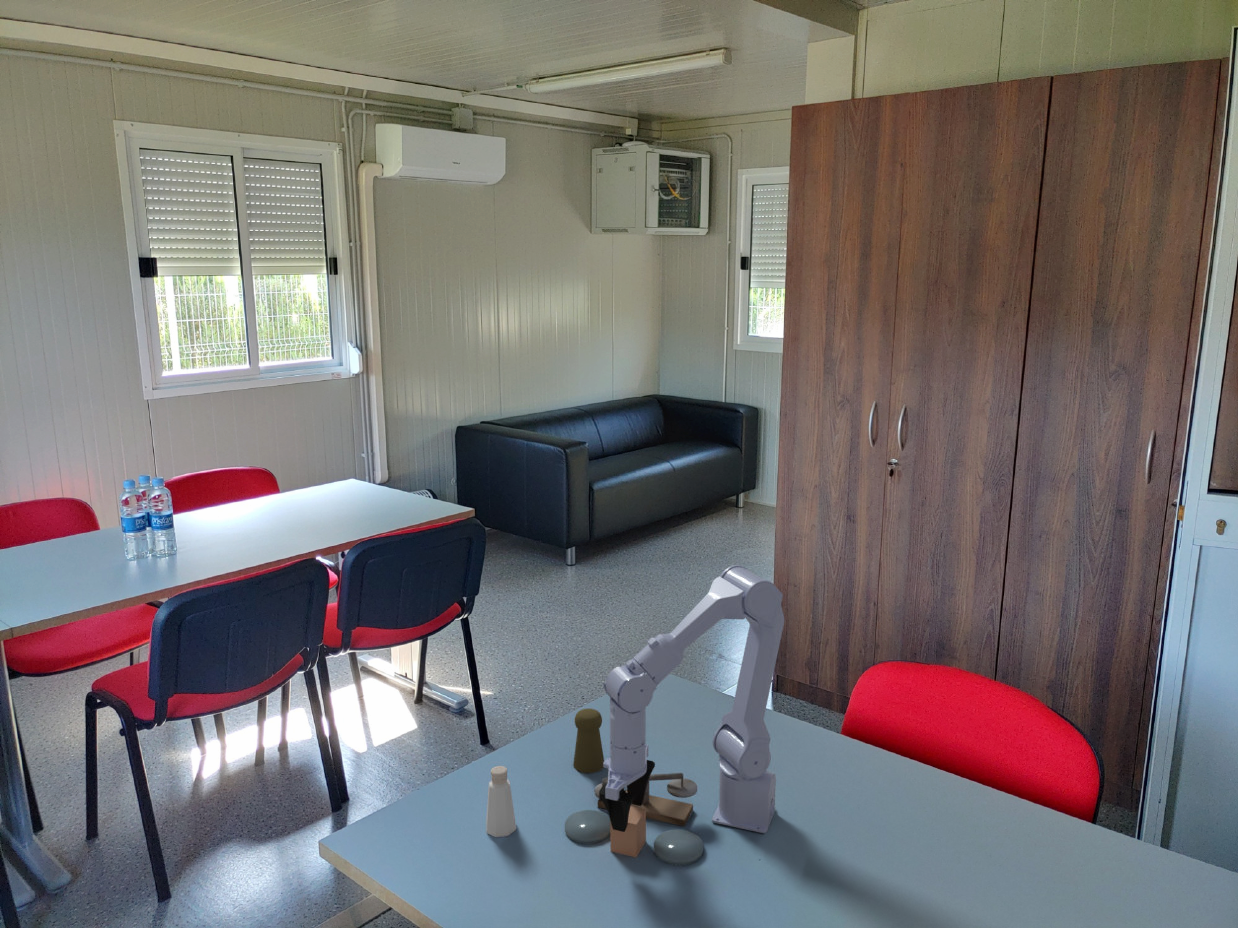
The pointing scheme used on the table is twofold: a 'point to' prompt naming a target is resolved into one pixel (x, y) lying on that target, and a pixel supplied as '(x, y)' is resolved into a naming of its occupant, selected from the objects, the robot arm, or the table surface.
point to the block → (630, 834)
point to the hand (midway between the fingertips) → (627, 816)
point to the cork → (588, 742)
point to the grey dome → (587, 826)
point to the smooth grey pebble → (678, 847)
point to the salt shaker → (500, 804)
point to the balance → (664, 799)
